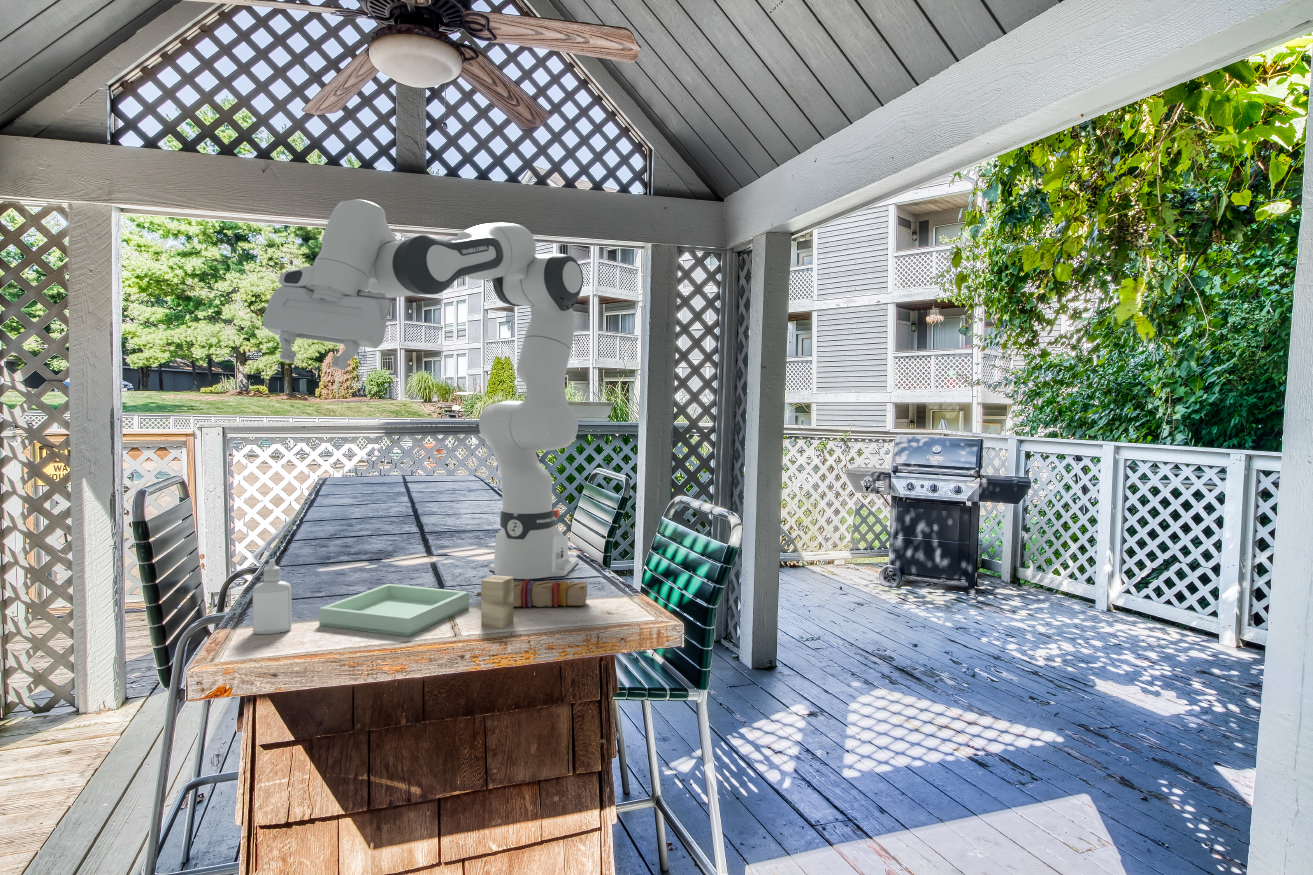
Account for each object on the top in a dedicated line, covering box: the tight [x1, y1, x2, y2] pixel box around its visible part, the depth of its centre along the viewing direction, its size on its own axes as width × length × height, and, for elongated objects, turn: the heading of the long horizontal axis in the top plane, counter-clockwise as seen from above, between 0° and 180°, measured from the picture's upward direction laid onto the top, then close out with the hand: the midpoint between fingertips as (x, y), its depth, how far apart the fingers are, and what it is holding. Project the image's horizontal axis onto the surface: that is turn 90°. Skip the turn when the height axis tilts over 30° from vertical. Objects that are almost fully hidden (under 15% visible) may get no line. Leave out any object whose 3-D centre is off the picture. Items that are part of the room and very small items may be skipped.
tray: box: [318, 583, 470, 638], centre depth 129 cm, size 18×18×3 cm
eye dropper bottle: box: [252, 559, 293, 635], centre depth 120 cm, size 4×6×12 cm
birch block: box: [480, 574, 514, 629], centre depth 126 cm, size 4×4×8 cm
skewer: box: [476, 579, 588, 608], centre depth 138 cm, size 21×6×5 cm, turn 93°
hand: (312, 364), depth 117 cm, fingers open, 8 cm apart
